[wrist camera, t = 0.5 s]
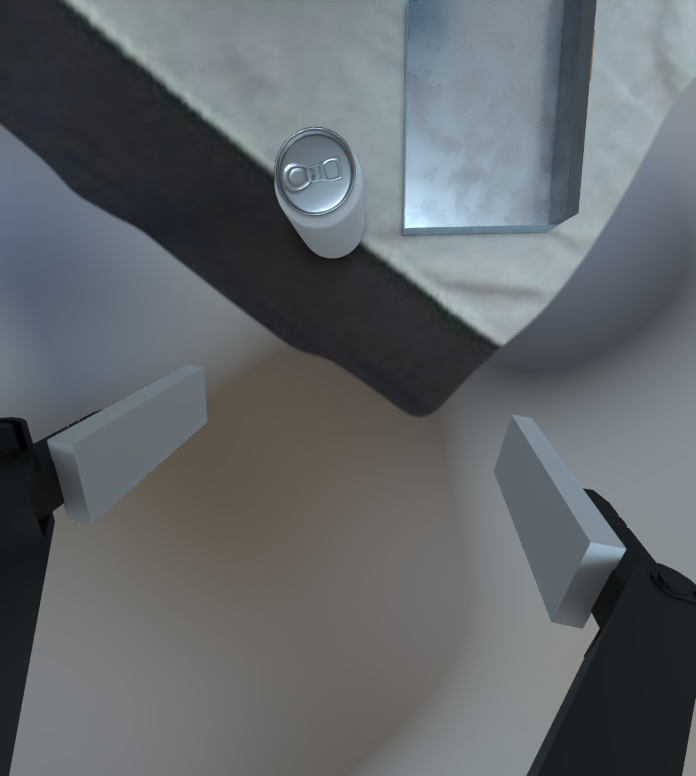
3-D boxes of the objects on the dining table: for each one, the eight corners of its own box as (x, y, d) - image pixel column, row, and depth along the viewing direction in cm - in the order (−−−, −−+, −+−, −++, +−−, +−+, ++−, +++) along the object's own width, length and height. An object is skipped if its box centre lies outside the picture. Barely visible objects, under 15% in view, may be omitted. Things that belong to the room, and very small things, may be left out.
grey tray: (406, 8, 33) (413, -58, 27) (567, -2, 32) (608, -72, 26) (402, 235, 35) (408, 217, 30) (549, 232, 35) (583, 212, 29)
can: (295, 200, 36) (258, 132, 24) (358, 185, 35) (352, 108, 23) (308, 265, 36) (278, 231, 25) (369, 252, 36) (370, 211, 24)
